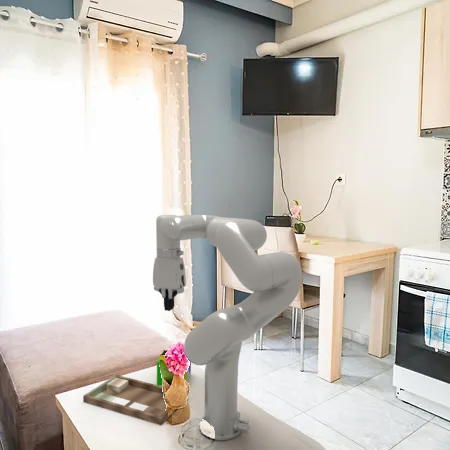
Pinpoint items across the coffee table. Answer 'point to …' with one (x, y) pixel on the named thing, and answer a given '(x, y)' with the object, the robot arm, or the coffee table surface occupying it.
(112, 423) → the coffee table surface
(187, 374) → the puzzle toy
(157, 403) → the box
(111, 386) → the block
